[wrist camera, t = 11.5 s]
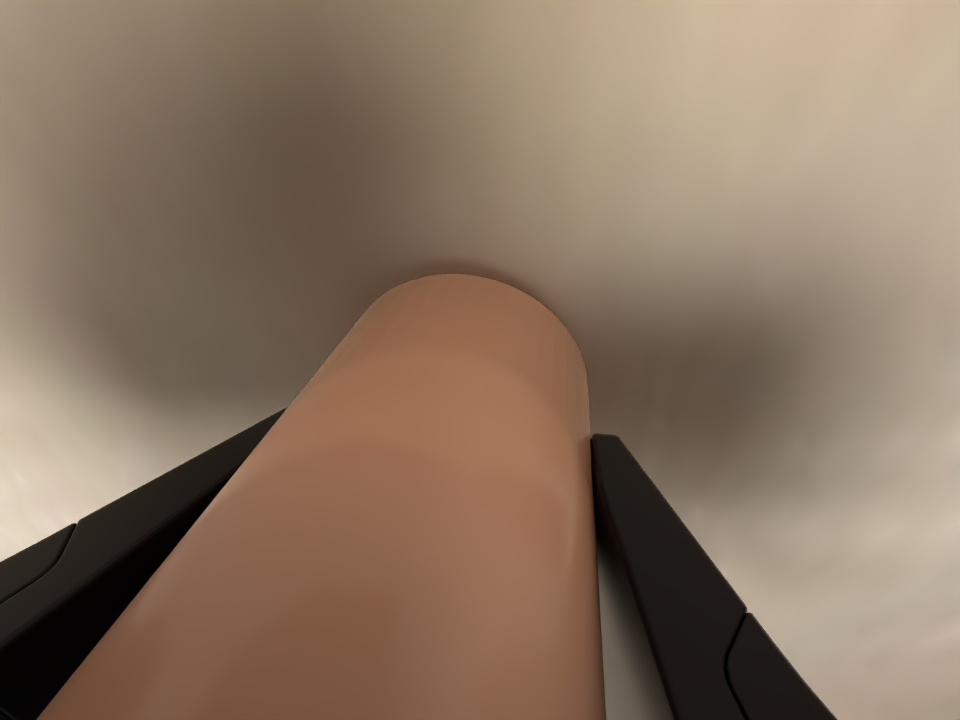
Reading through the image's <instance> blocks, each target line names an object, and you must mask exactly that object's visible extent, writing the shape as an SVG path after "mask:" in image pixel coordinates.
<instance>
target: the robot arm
mask: <svg viewBox="0 0 960 720" xmlns="http://www.w3.org/2000/svg"><path fill="white" fill-rule="evenodd" d="M286 409H287V408H285V409H283V410H281V411H279V412H278V413H276V414H274V415H272V416H270V417H268V418H267V419H265V420H263V421H261V422H259V423H257V424H255V425H254V426H252V427H250V428H248V429H246V430H244V431H243V432H241V433H239V434H237V435H235V436H233V437H231V438H230V439H228V440H226V441H224V442H222V443H220V444H219V445H217V446H215V447H213V448H211V449H209V450H208V451H206V452H204V453H202V454H200V455H198V456H196V457H195V458H193V459H191V460H189V461H187V462H185V463H184V464H182V465H180V466H178V467H176V468H174V469H172V470H171V471H169V472H167V473H165V474H163V475H161V476H160V477H158V478H156V479H154V480H152V481H150V482H148V483H147V484H145V485H143V486H141V487H139V488H137V489H136V490H134V491H132V492H130V493H128V494H126V495H125V496H123V497H121V498H119V499H117V500H115V501H113V502H112V503H110V504H108V505H106V506H104V507H102V508H101V509H99V510H97V511H95V512H93V513H91V514H89V515H88V516H86V517H84V518H82V519H80V520H79V521H78V523H77V524H76V523H73V524H71V525H69V526H67V527H65V528H63V529H62V530H60V531H58V532H56V533H54V534H53V535H51V536H49V537H47V538H45V539H43V540H41V541H39V542H38V543H36V544H34V545H32V546H30V547H28V548H26V549H24V550H22V551H20V552H19V553H17V554H15V555H13V556H11V557H9V558H7V559H5V560H3V561H1V562H0V720H36V719H37V718H38V717H39V716H40V714H41V713H42V712H43V711H44V709H45V708H46V707H47V706H48V704H49V703H50V702H51V701H52V700H53V698H54V697H55V696H56V695H57V693H58V692H59V691H60V690H61V688H62V687H63V686H64V685H65V683H66V682H67V681H68V680H69V678H70V677H71V676H72V675H73V673H74V672H75V671H76V670H77V668H78V667H79V666H80V665H81V664H82V662H83V661H84V660H85V659H86V657H87V656H88V655H89V654H90V652H91V651H92V650H93V649H94V647H95V646H96V645H97V644H98V642H99V641H100V640H101V639H102V637H103V636H104V635H105V634H106V632H107V631H108V630H109V629H110V628H111V626H112V625H113V624H114V623H115V621H116V620H117V619H118V618H119V616H120V615H121V614H122V613H123V611H124V610H125V609H126V608H127V606H128V605H129V604H130V603H131V601H132V600H133V599H134V598H135V596H136V595H137V594H138V593H139V592H140V590H141V589H142V588H143V587H144V585H145V584H146V583H147V582H148V580H149V579H150V578H151V577H152V575H153V574H154V573H155V572H156V570H157V569H158V568H159V567H160V565H161V564H162V563H163V562H164V561H165V559H166V558H167V557H168V556H169V554H170V553H171V552H172V551H173V549H174V548H175V547H176V546H177V544H178V543H179V542H180V541H181V539H182V538H183V537H184V536H185V534H186V533H187V532H188V531H189V529H190V528H191V527H192V526H193V525H194V523H195V522H196V521H197V520H198V518H199V517H200V516H201V515H202V513H203V512H204V511H205V510H206V508H207V507H208V506H209V505H210V503H211V502H212V501H213V500H214V498H215V497H216V496H217V495H218V493H219V492H220V491H221V490H222V489H223V487H224V486H225V485H226V484H227V482H228V481H229V480H230V479H231V477H232V476H233V475H234V474H235V472H236V471H237V470H238V469H239V467H240V466H241V465H242V464H243V462H244V461H245V460H246V459H247V457H248V456H249V455H250V454H251V453H252V451H253V450H254V449H255V448H256V446H257V445H258V444H259V443H260V441H261V440H262V439H263V438H264V436H265V435H266V434H267V433H268V431H269V430H270V429H271V428H272V426H273V425H274V424H275V423H276V422H277V420H278V419H279V418H280V417H281V415H282V414H283V413H284V412H285V410H286ZM591 451H592V469H593V488H594V506H595V524H596V542H597V560H598V579H599V597H600V615H601V633H602V652H603V670H604V688H605V706H606V720H837V719H836V717H835V716H834V715H833V714H832V713H831V712H830V710H829V709H828V708H827V707H826V706H825V705H824V703H823V702H822V701H821V700H820V699H819V698H818V696H817V695H816V694H815V693H814V692H813V691H812V689H811V688H810V687H809V686H808V685H807V684H806V682H805V681H804V680H803V679H802V677H801V676H800V675H799V674H798V672H797V671H796V670H795V669H794V667H793V666H792V665H791V663H790V662H789V661H788V660H787V658H786V657H785V656H784V655H783V653H782V652H781V651H780V650H779V648H778V647H777V646H776V644H775V643H774V642H773V641H772V639H771V638H770V637H769V635H768V634H767V633H766V631H765V630H764V629H763V628H762V626H761V625H760V624H759V622H758V621H757V620H756V618H755V617H754V615H753V614H752V613H746V612H747V607H746V605H745V604H744V603H743V601H742V600H741V599H740V597H739V596H738V595H737V593H736V592H735V591H734V589H733V588H732V587H731V585H730V584H729V583H728V581H727V580H726V579H725V577H724V576H723V575H722V573H721V572H720V571H719V569H718V568H717V567H716V566H715V564H714V563H713V562H712V560H711V559H710V558H709V556H708V555H707V554H706V552H705V551H704V550H703V548H702V547H701V546H700V544H699V543H698V542H697V540H696V539H695V538H694V536H693V535H692V534H691V532H690V531H689V530H688V528H687V527H686V526H685V524H684V523H683V522H682V520H681V519H680V518H679V517H678V515H677V514H676V513H675V511H674V510H673V509H672V507H671V506H670V505H669V503H668V502H667V501H666V499H665V498H664V497H663V495H662V494H661V493H660V491H659V490H658V489H657V487H656V486H655V485H654V483H653V482H652V481H651V479H650V478H649V477H648V475H647V474H646V473H645V471H644V470H643V469H642V467H641V466H640V465H639V464H638V462H637V461H636V460H635V458H634V457H633V456H632V454H631V453H630V452H629V450H628V449H627V448H626V446H625V445H624V444H623V442H622V441H621V440H620V438H619V437H617V436H616V435H609V434H593V436H592V438H591Z"/></svg>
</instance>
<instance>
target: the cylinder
mask: <svg viewBox="0 0 960 720" xmlns="http://www.w3.org/2000/svg"><path fill="white" fill-rule="evenodd" d="M36 720H606V706H605V688H604V670H603V652H602V633H601V615H600V597H599V579H598V560H597V542H596V524H595V506H594V488H593V469H592V451H591V433H590V414H589V396H588V381H587V373H586V368H585V364H584V361H583V357H582V355H581V353H580V350H579V348H578V346H577V344H576V342H575V340H574V339H573V337H572V336H571V334H570V333H569V331H568V330H567V328H566V327H565V326H564V325H563V324H562V322H561V321H560V320H559V319H558V318H557V317H556V316H555V315H554V314H553V313H552V312H551V311H550V310H549V309H547V308H546V307H545V306H544V305H543V304H541V303H540V302H539V301H537V300H536V299H534V298H533V297H531V296H530V295H528V294H526V293H524V292H522V291H520V290H518V289H516V288H514V287H512V286H510V285H507V284H505V283H502V282H499V281H496V280H493V279H489V278H484V277H480V276H475V275H465V274H438V275H432V276H425V277H421V278H417V279H414V280H411V281H407V282H405V283H403V284H401V285H399V286H396V287H394V288H392V289H391V290H389V291H388V292H386V293H385V294H383V295H382V296H380V297H379V298H378V299H377V300H376V301H375V302H373V303H372V304H371V305H370V306H369V307H368V309H367V310H366V311H365V312H364V314H363V315H362V316H361V317H360V318H359V320H358V321H357V322H356V323H355V325H354V326H353V327H352V328H351V330H350V331H349V332H348V333H347V335H346V336H345V337H344V338H343V340H342V341H341V342H340V343H339V345H338V346H337V347H336V348H335V350H334V351H333V352H332V353H331V354H330V356H329V357H328V358H327V359H326V361H325V362H324V363H323V364H322V366H321V367H320V368H319V369H318V371H317V372H316V373H315V374H314V376H313V377H312V378H311V379H310V381H309V382H308V383H307V384H306V386H305V387H304V388H303V389H302V390H301V392H300V393H299V394H298V395H297V397H296V398H295V399H294V400H293V402H292V403H291V404H290V405H289V407H288V408H287V409H286V410H285V412H284V413H283V414H282V415H281V417H280V418H279V419H278V420H277V422H276V423H275V424H274V425H273V426H272V428H271V429H270V430H269V431H268V433H267V434H266V435H265V436H264V438H263V439H262V440H261V441H260V443H259V444H258V445H257V446H256V448H255V449H254V450H253V451H252V453H251V454H250V455H249V456H248V457H247V459H246V460H245V461H244V462H243V464H242V465H241V466H240V467H239V469H238V470H237V471H236V472H235V474H234V475H233V476H232V477H231V479H230V480H229V481H228V482H227V484H226V485H225V486H224V487H223V489H222V490H221V491H220V492H219V493H218V495H217V496H216V497H215V498H214V500H213V501H212V502H211V503H210V505H209V506H208V507H207V508H206V510H205V511H204V512H203V513H202V515H201V516H200V517H199V518H198V520H197V521H196V522H195V523H194V525H193V526H192V527H191V528H190V529H189V531H188V532H187V533H186V534H185V536H184V537H183V538H182V539H181V541H180V542H179V543H178V544H177V546H176V547H175V548H174V549H173V551H172V552H171V553H170V554H169V556H168V557H167V558H166V559H165V561H164V562H163V563H162V564H161V565H160V567H159V568H158V569H157V570H156V572H155V573H154V574H153V575H152V577H151V578H150V579H149V580H148V582H147V583H146V584H145V585H144V587H143V588H142V589H141V590H140V592H139V593H138V594H137V595H136V596H135V598H134V599H133V600H132V601H131V603H130V604H129V605H128V606H127V608H126V609H125V610H124V611H123V613H122V614H121V615H120V616H119V618H118V619H117V620H116V621H115V623H114V624H113V625H112V626H111V628H110V629H109V630H108V631H107V632H106V634H105V635H104V636H103V637H102V639H101V640H100V641H99V642H98V644H97V645H96V646H95V647H94V649H93V650H92V651H91V652H90V654H89V655H88V656H87V657H86V659H85V660H84V661H83V662H82V664H81V665H80V666H79V667H78V668H77V670H76V671H75V672H74V673H73V675H72V676H71V677H70V678H69V680H68V681H67V682H66V683H65V685H64V686H63V687H62V688H61V690H60V691H59V692H58V693H57V695H56V696H55V697H54V698H53V700H52V701H51V702H50V703H49V704H48V706H47V707H46V708H45V709H44V711H43V712H42V713H41V714H40V716H39V717H38V718H37V719H36Z"/></svg>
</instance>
